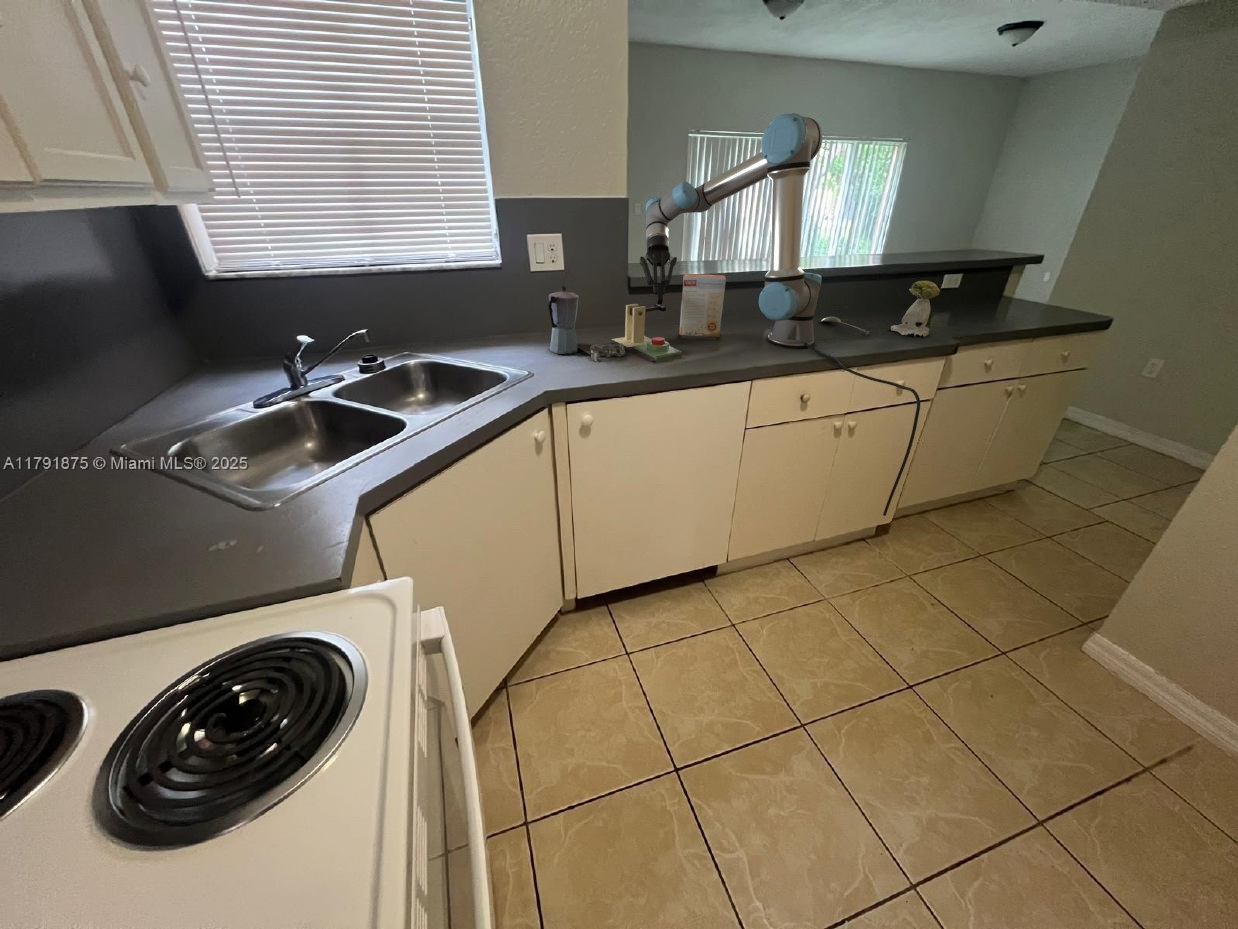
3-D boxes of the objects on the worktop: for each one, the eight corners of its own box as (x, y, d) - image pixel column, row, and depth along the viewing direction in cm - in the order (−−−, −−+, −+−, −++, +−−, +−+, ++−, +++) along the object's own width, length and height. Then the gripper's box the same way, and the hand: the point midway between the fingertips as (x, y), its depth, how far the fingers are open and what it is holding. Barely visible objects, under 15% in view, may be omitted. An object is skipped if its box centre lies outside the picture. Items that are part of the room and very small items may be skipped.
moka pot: (586, 346, 161) (585, 283, 151) (567, 360, 149) (565, 292, 138) (560, 343, 164) (558, 281, 154) (539, 356, 151) (535, 290, 141)
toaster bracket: (640, 338, 170) (642, 300, 164) (657, 345, 163) (659, 307, 157) (611, 343, 165) (611, 304, 158) (627, 351, 158) (628, 311, 151)
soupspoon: (829, 322, 197) (816, 324, 195) (830, 313, 196) (817, 315, 193) (873, 334, 180) (860, 336, 177) (875, 325, 178) (862, 327, 176)
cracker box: (717, 335, 175) (725, 274, 164) (719, 340, 170) (726, 277, 159) (678, 334, 176) (683, 273, 165) (678, 338, 171) (684, 276, 160)
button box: (681, 358, 153) (682, 345, 151) (655, 363, 148) (656, 350, 146) (658, 347, 161) (659, 336, 159) (633, 352, 157) (634, 340, 155)
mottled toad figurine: (590, 361, 148) (590, 348, 146) (590, 354, 155) (589, 341, 153) (625, 361, 149) (625, 348, 147) (623, 353, 155) (623, 341, 153)
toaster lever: (657, 309, 166) (657, 302, 164) (665, 312, 162) (666, 305, 161) (627, 314, 160) (627, 306, 159) (636, 317, 157) (636, 309, 155)
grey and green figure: (908, 326, 191) (924, 277, 181) (936, 335, 180) (954, 283, 171) (884, 328, 187) (899, 278, 178) (911, 337, 177) (928, 284, 168)
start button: (666, 344, 152) (667, 339, 151) (656, 346, 150) (656, 341, 150) (659, 341, 155) (659, 336, 154) (649, 343, 153) (649, 337, 152)
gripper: (674, 249, 171) (677, 308, 166) (637, 248, 171) (639, 308, 165) (677, 234, 164) (681, 295, 158) (639, 233, 163) (641, 295, 158)
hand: (660, 302), depth 162 cm, fingers closed
